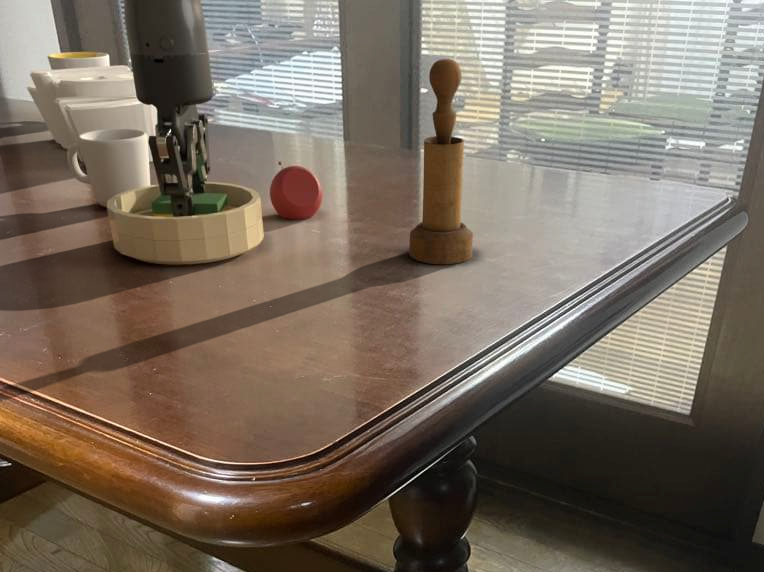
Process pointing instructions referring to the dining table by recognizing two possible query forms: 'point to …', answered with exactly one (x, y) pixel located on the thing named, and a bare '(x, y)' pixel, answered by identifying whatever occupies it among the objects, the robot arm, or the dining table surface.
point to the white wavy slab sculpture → (90, 102)
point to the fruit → (295, 193)
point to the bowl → (185, 227)
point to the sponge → (202, 204)
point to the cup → (111, 161)
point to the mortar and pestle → (442, 180)
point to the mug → (78, 60)
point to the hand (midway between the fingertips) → (192, 226)
